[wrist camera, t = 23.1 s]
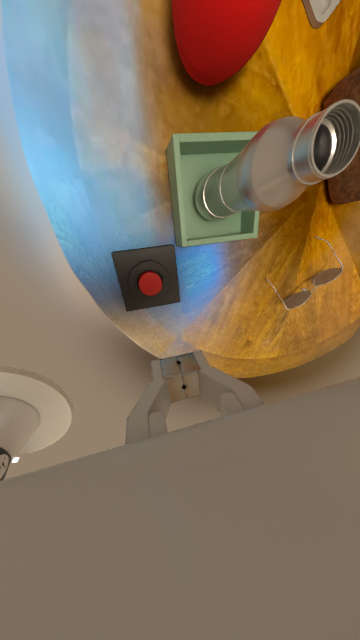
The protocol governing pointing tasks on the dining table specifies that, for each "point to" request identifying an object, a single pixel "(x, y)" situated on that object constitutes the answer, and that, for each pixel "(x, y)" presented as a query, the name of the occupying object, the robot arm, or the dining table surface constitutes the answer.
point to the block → (141, 261)
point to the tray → (186, 173)
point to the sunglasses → (317, 280)
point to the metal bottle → (282, 162)
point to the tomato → (220, 35)
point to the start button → (150, 283)
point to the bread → (356, 177)
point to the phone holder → (319, 10)
